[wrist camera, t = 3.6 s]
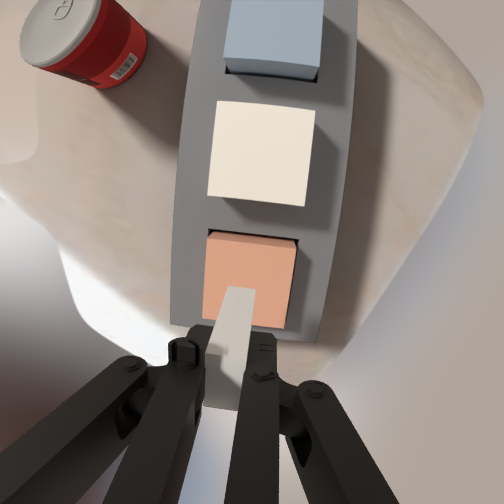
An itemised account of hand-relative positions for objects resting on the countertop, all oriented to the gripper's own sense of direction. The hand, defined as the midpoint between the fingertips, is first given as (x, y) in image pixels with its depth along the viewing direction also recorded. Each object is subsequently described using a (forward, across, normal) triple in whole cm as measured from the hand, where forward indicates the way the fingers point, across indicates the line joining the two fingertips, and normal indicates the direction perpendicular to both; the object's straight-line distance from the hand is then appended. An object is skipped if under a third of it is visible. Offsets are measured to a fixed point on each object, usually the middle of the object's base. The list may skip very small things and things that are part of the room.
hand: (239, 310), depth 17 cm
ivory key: (+9, 0, +8) cm, 12 cm away
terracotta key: (+10, 0, -1) cm, 10 cm away
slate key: (+9, 0, +17) cm, 20 cm away
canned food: (+13, -16, +18) cm, 28 cm away
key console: (+13, 0, +8) cm, 15 cm away
